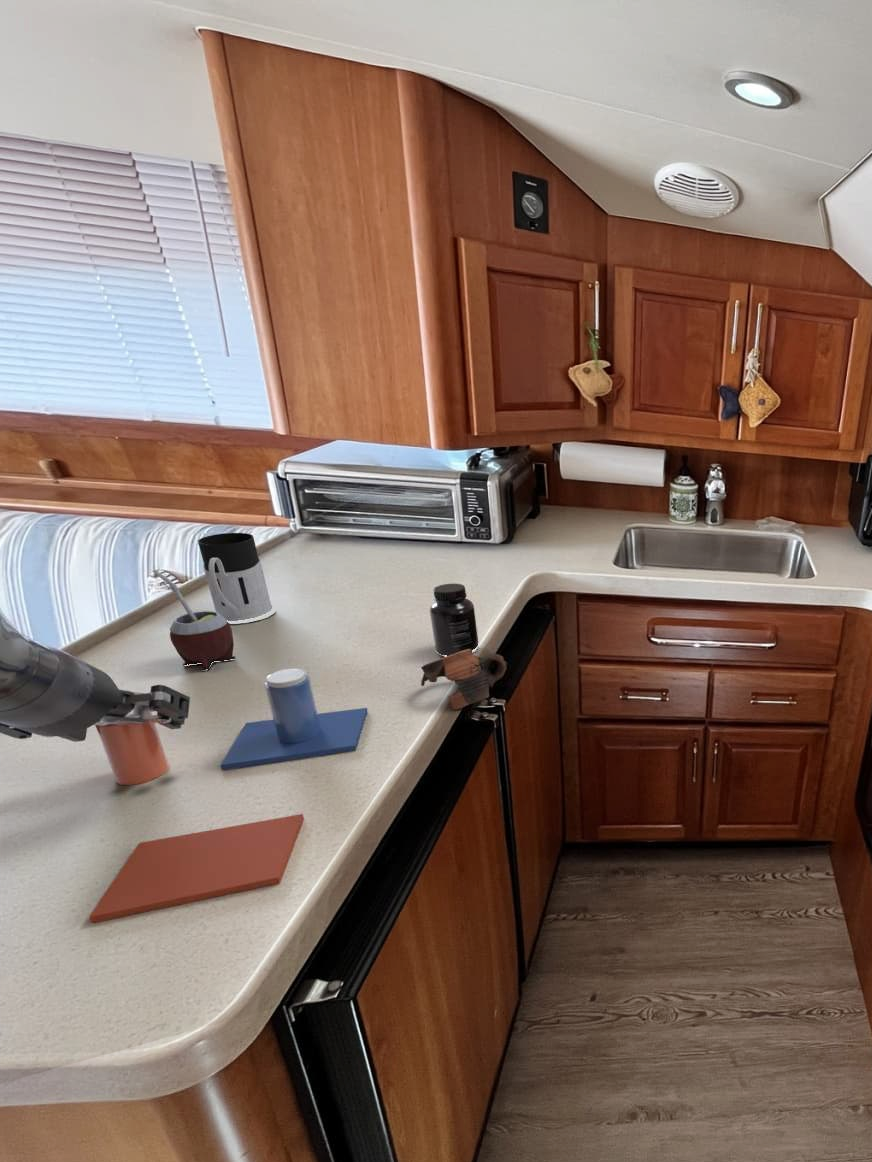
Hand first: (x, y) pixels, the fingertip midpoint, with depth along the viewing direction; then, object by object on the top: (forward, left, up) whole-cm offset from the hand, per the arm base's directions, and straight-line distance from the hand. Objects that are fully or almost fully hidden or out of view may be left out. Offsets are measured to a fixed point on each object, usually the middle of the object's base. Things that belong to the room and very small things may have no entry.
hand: (131, 726), depth 75 cm
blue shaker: (+15, +2, -5) cm, 16 cm away
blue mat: (+15, +2, -6) cm, 16 cm away
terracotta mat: (+12, -21, -6) cm, 25 cm away
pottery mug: (+35, +9, -6) cm, 37 cm away
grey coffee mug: (-3, +47, -6) cm, 48 cm away
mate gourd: (-3, +30, -6) cm, 31 cm away
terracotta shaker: (0, -1, -6) cm, 6 cm away
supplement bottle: (+33, +25, -6) cm, 42 cm away
